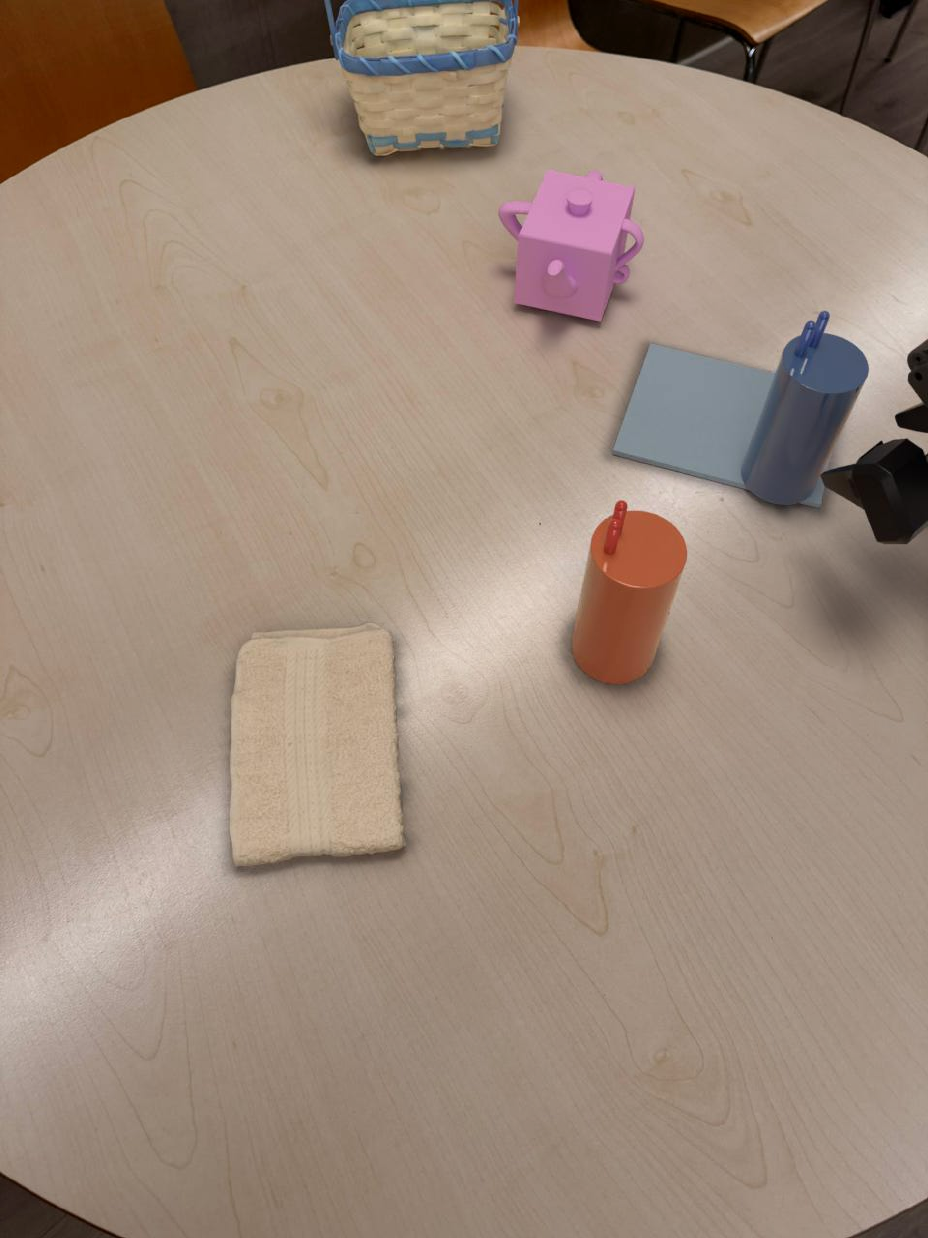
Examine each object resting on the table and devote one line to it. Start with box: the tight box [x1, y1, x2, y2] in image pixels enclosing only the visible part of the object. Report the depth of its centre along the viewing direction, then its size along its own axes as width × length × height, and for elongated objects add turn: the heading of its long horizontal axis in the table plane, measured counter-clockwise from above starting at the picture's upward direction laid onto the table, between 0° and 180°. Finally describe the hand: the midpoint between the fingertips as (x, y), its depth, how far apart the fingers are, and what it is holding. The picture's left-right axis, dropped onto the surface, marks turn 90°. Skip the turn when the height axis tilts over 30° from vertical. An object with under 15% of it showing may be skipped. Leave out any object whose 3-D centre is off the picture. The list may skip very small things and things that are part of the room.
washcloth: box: [229, 621, 407, 867], centre depth 73 cm, size 12×18×3 cm, turn 6°
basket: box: [323, 0, 521, 157], centre depth 105 cm, size 21×16×24 cm
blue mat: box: [611, 343, 832, 509], centre depth 91 cm, size 18×14×1 cm
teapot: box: [497, 169, 645, 323], centre depth 96 cm, size 18×14×10 cm
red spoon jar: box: [570, 499, 688, 685], centre depth 72 cm, size 6×6×16 cm
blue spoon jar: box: [741, 310, 870, 506], centre depth 81 cm, size 6×6×16 cm
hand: (861, 449), depth 79 cm, fingers open, 9 cm apart
